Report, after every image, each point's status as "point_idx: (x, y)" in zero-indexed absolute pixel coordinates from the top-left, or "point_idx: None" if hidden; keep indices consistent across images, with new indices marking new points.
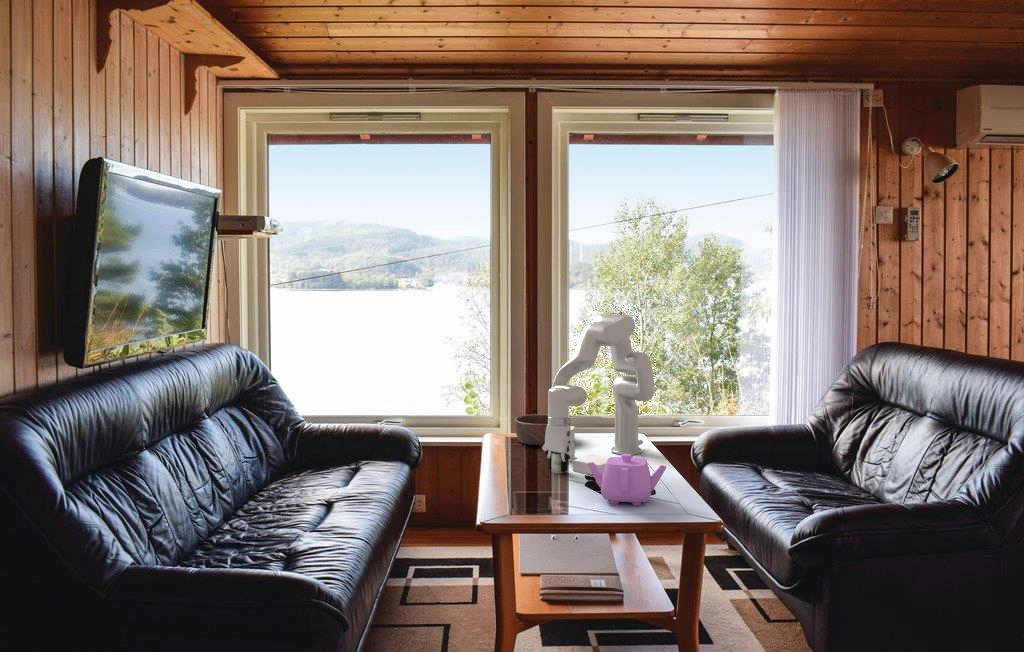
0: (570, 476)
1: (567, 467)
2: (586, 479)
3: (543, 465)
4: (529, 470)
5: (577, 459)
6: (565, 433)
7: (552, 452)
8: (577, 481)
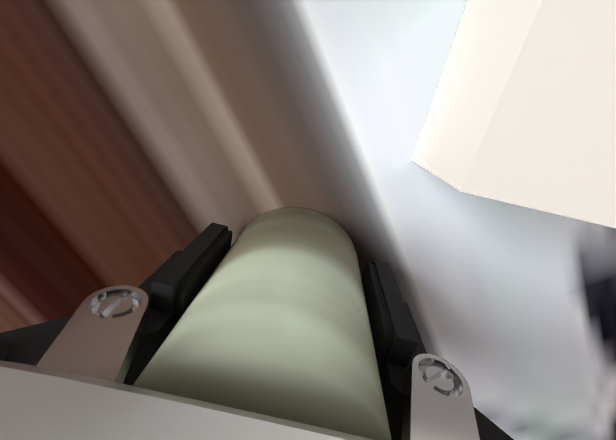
0: (448, 340)
1: (407, 312)
2: (608, 367)
3: (17, 89)
4: (65, 311)
5: (533, 94)
6: None
7: (70, 372)
8: (539, 428)
